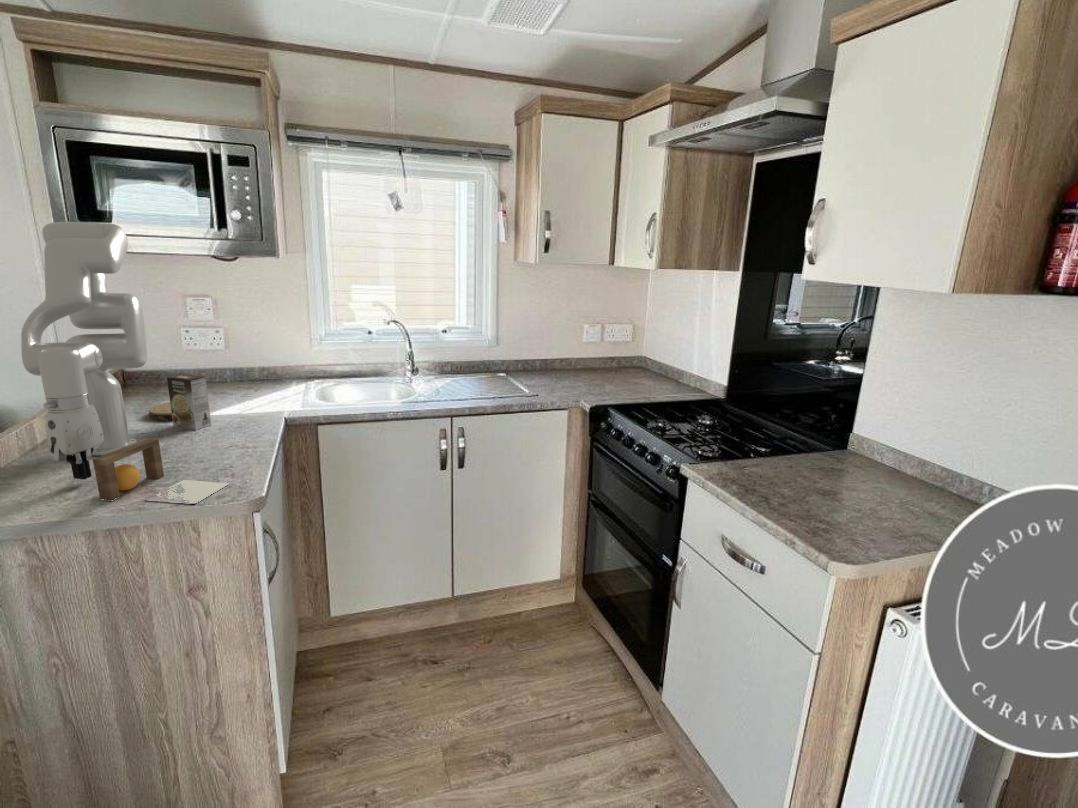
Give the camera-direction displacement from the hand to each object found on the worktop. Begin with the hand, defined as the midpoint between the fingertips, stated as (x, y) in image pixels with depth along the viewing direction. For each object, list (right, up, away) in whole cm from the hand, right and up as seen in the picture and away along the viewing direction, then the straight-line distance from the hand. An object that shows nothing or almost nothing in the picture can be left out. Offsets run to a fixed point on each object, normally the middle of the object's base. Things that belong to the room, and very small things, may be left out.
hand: (82, 477), depth 135 cm
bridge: (+13, -2, -1) cm, 13 cm away
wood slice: (-13, +13, +57) cm, 60 cm away
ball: (+12, 0, -3) cm, 12 cm away
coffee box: (-1, +10, +45) cm, 46 cm away
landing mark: (+27, -3, -3) cm, 27 cm away
